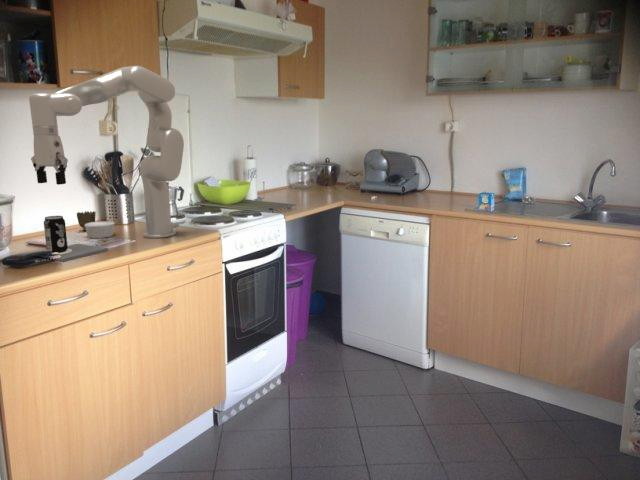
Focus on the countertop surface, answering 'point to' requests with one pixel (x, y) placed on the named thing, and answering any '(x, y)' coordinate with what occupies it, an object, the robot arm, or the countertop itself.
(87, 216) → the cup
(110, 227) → the ramekin
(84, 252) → the board
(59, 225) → the beverage can
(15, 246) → the countertop surface
